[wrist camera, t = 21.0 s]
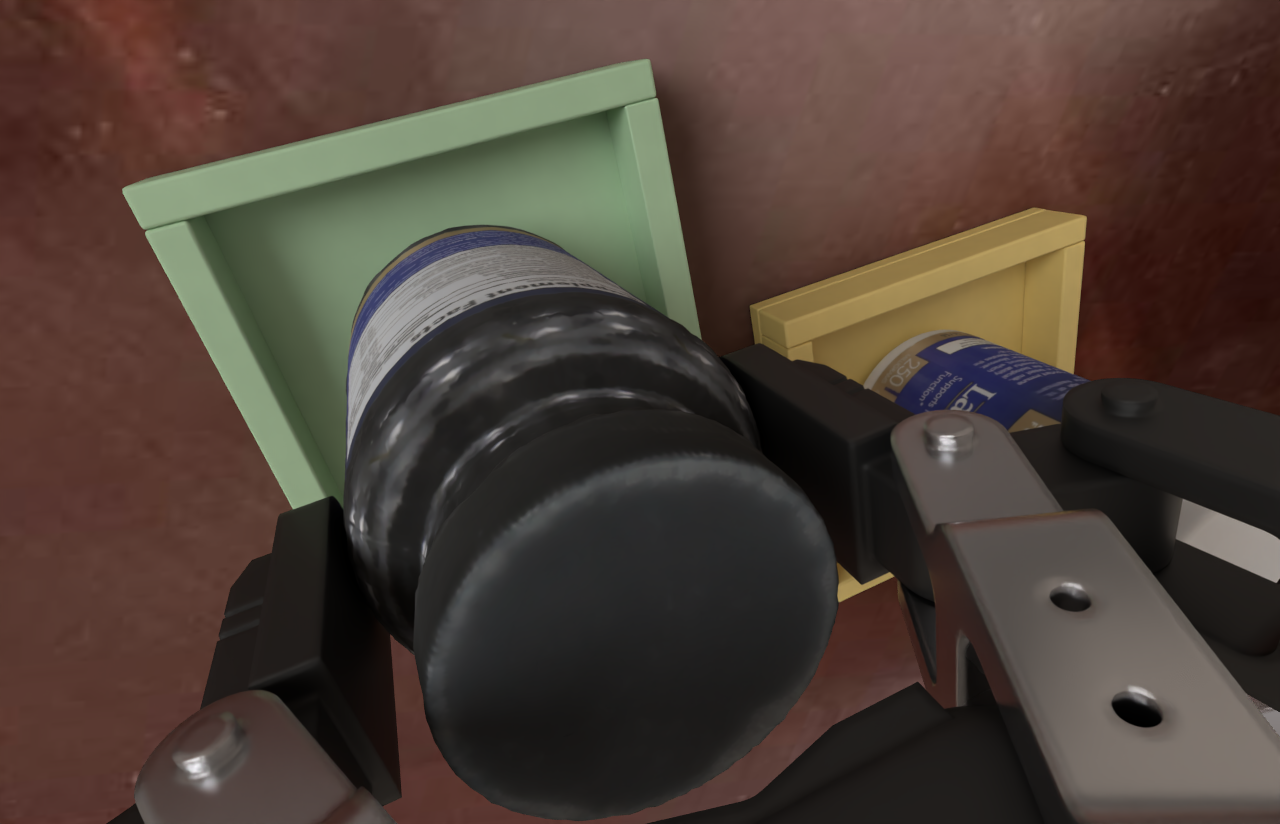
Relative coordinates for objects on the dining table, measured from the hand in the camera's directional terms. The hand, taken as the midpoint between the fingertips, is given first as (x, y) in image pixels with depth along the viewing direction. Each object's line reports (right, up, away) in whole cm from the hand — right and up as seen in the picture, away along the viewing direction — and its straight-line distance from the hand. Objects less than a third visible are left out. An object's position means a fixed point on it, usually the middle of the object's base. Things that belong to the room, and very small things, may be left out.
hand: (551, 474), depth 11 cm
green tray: (-3, +3, +7) cm, 8 cm away
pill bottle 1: (-2, +3, +6) cm, 7 cm away
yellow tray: (+11, +1, +13) cm, 17 cm away
